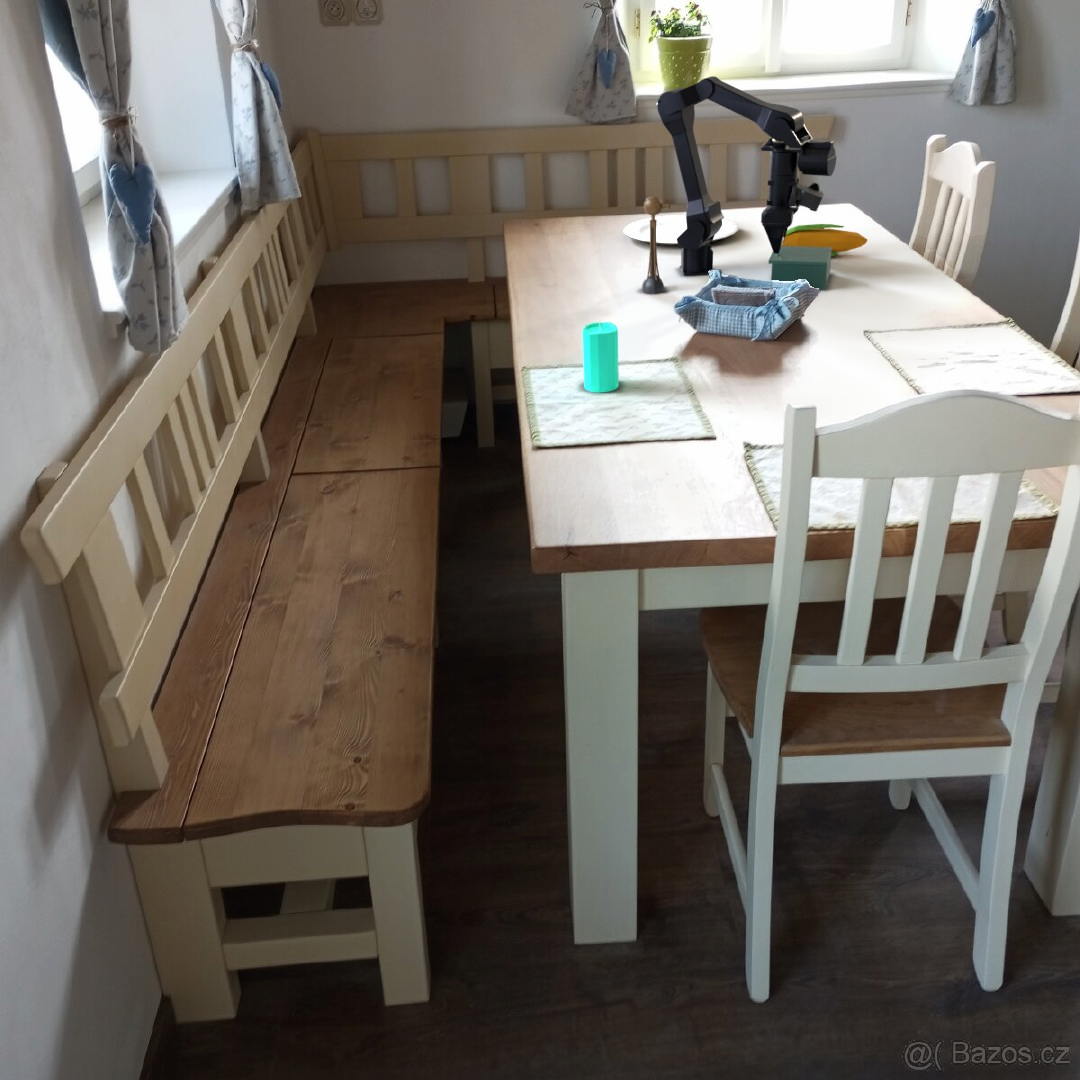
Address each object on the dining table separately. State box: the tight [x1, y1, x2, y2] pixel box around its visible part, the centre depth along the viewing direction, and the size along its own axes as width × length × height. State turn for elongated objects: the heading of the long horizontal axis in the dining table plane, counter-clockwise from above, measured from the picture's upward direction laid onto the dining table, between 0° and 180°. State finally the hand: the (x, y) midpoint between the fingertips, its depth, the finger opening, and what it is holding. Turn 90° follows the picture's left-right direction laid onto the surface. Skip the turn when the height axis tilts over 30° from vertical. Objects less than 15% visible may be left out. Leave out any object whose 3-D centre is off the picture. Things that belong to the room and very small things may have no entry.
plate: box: [623, 214, 739, 247], centre depth 279 cm, size 29×29×2 cm
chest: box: [770, 251, 832, 291], centre depth 237 cm, size 11×12×5 cm
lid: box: [767, 237, 832, 266], centre depth 235 cm, size 12×12×4 cm
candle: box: [582, 318, 620, 394], centre depth 186 cm, size 6×6×12 cm
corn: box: [782, 223, 868, 257], centre depth 254 cm, size 7×8×20 cm
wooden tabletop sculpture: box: [641, 196, 671, 295], centre depth 233 cm, size 6×5×20 cm
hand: (778, 247), depth 237 cm, fingers open, 9 cm apart
